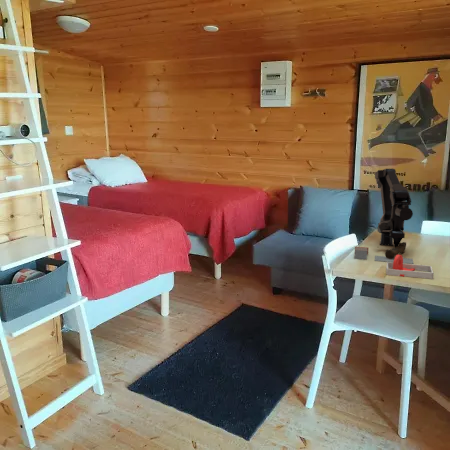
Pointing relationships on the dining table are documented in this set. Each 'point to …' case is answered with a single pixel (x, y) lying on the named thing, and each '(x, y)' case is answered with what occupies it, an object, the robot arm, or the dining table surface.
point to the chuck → (360, 253)
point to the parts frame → (411, 273)
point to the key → (364, 247)
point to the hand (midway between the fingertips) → (395, 248)
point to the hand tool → (396, 250)
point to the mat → (384, 259)
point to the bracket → (400, 264)
